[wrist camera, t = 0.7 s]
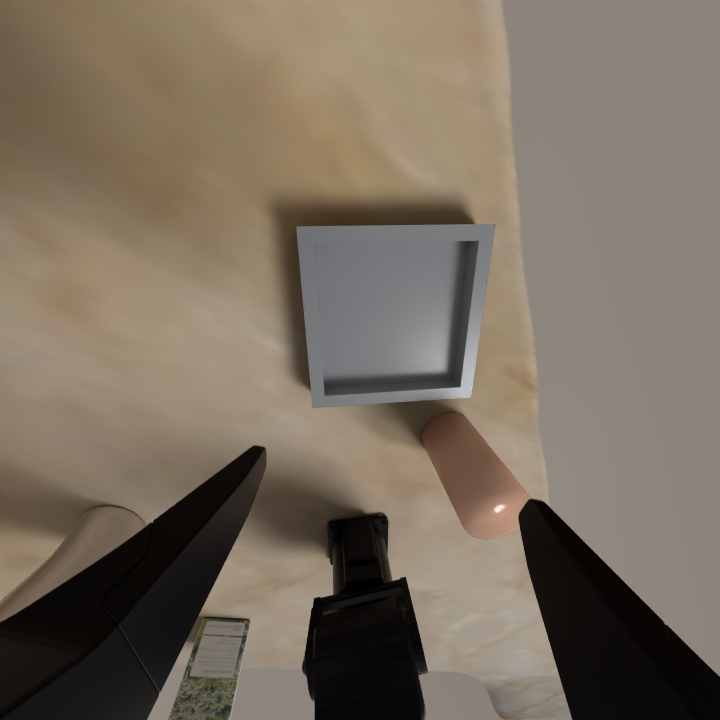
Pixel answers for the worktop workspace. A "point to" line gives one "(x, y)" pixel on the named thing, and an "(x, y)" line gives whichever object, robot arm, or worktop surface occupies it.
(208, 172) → the worktop surface
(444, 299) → the slate bin
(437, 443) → the salmon pink cylinder
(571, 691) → the robot arm
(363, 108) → the worktop surface
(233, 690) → the syrup box
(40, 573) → the clear drinking glass
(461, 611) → the worktop surface
